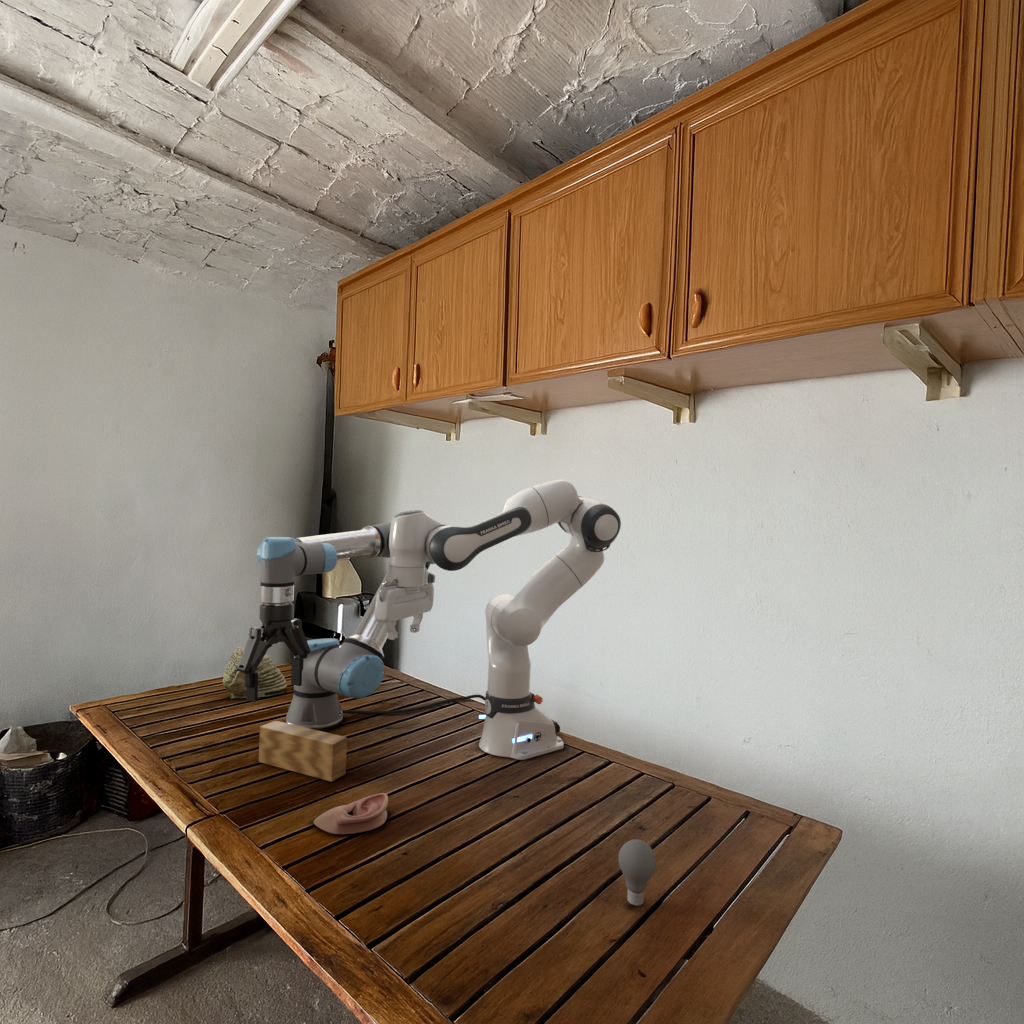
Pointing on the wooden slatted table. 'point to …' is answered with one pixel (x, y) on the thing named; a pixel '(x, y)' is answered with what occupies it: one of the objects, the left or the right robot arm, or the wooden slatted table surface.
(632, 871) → the light bulb
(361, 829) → the anatomical model
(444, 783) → the wooden slatted table surface
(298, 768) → the bar
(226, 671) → the fossil
